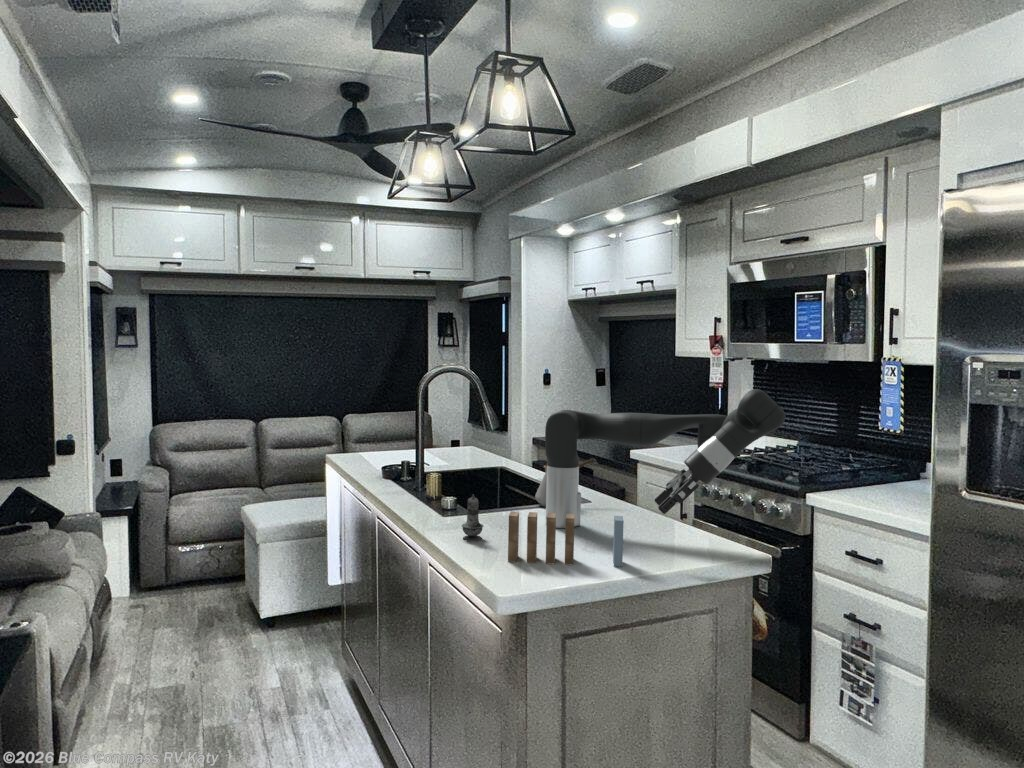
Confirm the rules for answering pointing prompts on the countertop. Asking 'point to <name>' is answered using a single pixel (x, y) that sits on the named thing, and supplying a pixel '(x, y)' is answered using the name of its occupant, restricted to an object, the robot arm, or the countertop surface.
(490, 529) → the countertop surface
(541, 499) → the coffee pot
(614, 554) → the blue domino
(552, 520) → the domino
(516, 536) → the domino
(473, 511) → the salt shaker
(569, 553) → the domino
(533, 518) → the domino
